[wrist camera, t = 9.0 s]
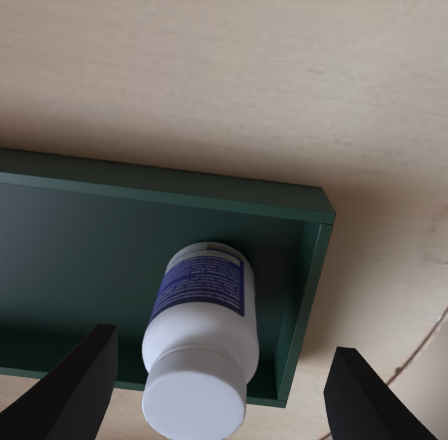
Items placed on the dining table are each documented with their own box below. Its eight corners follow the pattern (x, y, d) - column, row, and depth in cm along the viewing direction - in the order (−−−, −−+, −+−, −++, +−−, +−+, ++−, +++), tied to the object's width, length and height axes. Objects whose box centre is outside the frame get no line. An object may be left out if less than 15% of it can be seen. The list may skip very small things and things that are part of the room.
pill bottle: (147, 266, 22) (94, 390, 14) (223, 223, 21) (211, 333, 13) (199, 328, 24) (177, 471, 16) (271, 292, 23) (288, 428, 14)
